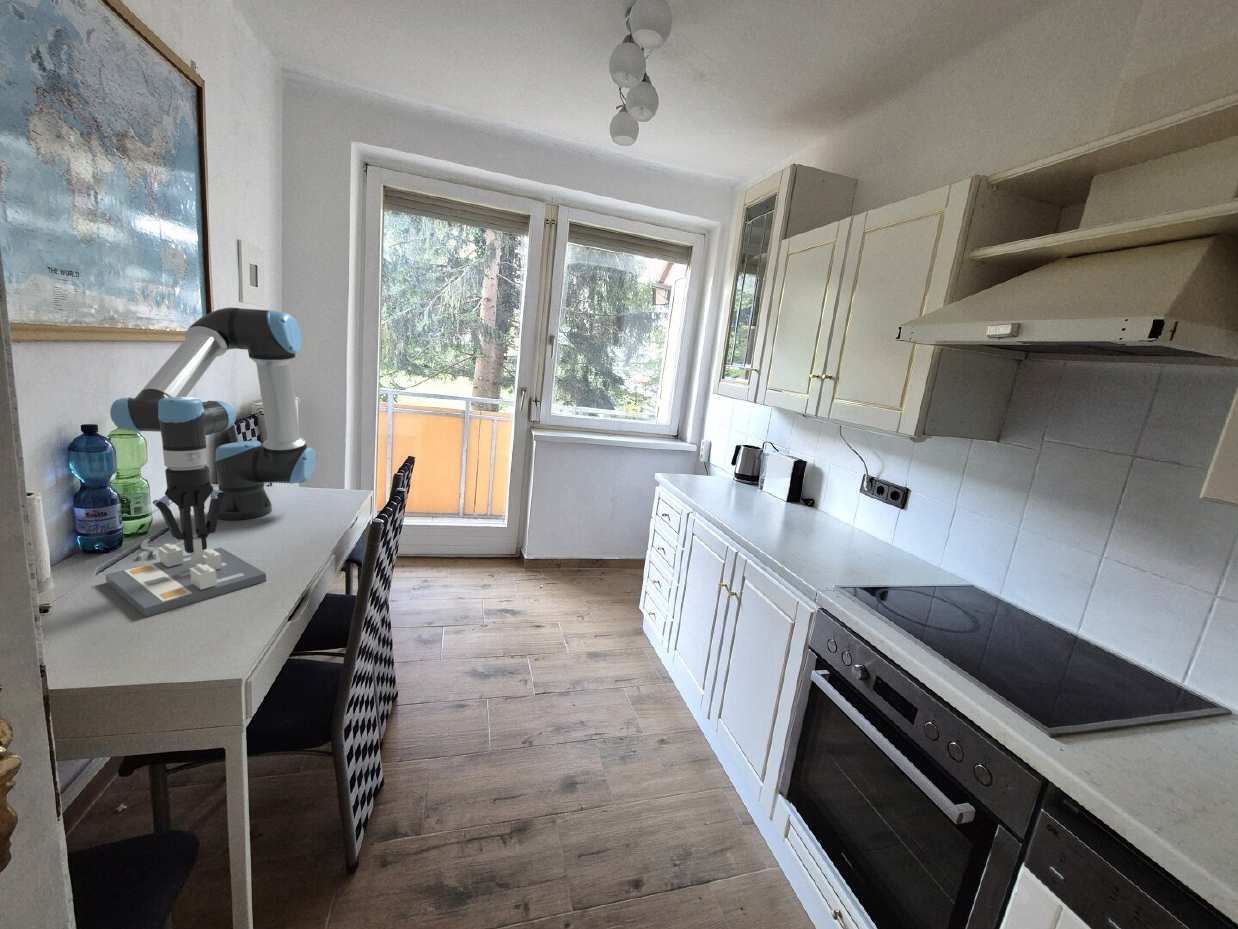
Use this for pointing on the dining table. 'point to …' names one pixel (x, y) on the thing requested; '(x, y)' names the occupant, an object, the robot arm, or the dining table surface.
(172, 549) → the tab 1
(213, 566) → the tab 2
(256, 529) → the dining table surface
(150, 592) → the switch bank
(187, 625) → the dining table surface
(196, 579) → the white plastic block
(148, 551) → the pliers
